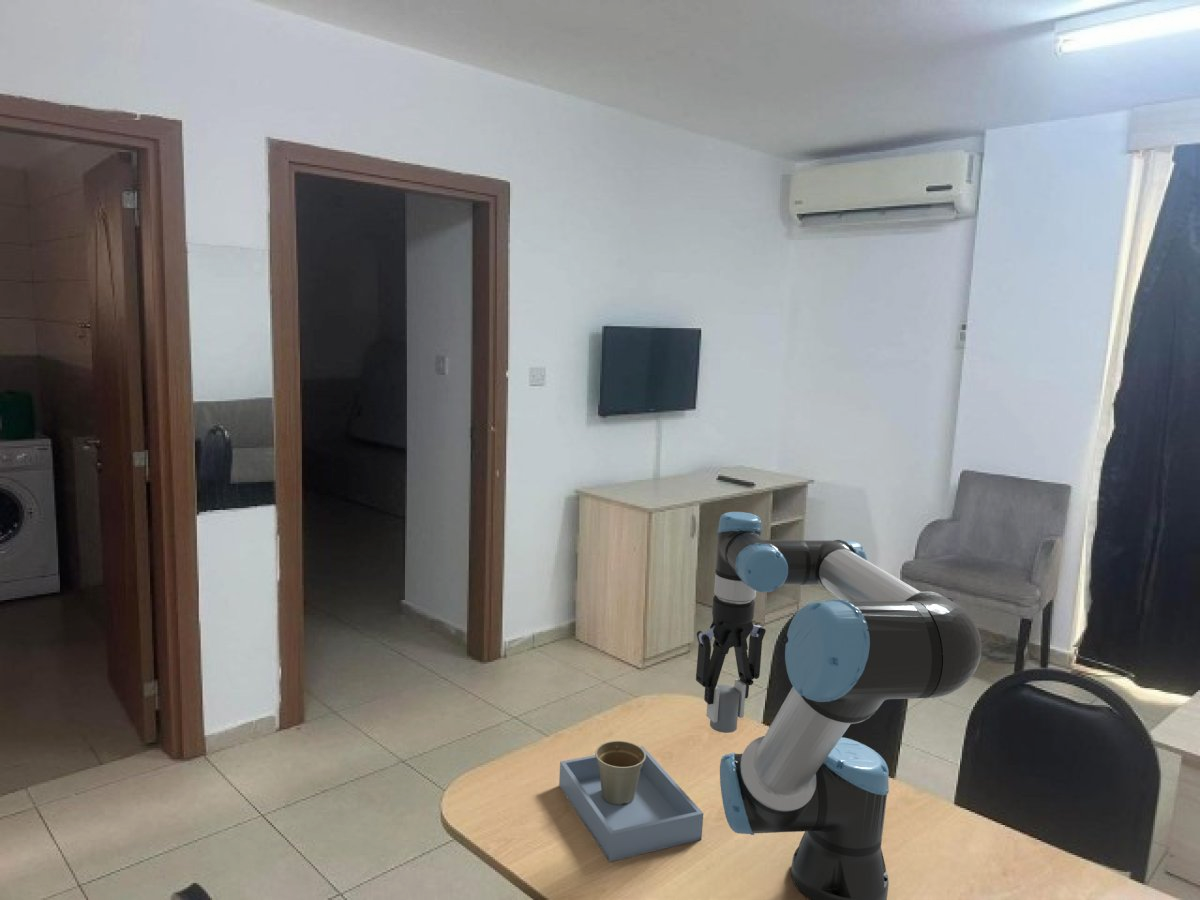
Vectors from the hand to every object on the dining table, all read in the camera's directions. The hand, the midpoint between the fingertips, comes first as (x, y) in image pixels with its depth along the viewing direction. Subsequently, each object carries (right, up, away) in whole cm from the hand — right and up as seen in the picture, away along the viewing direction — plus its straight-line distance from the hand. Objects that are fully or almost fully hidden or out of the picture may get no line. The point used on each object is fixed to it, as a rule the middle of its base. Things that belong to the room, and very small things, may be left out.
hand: (724, 716), depth 154 cm
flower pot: (-20, -15, +1) cm, 25 cm away
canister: (0, -2, +1) cm, 2 cm away
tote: (-18, -17, -3) cm, 25 cm away
